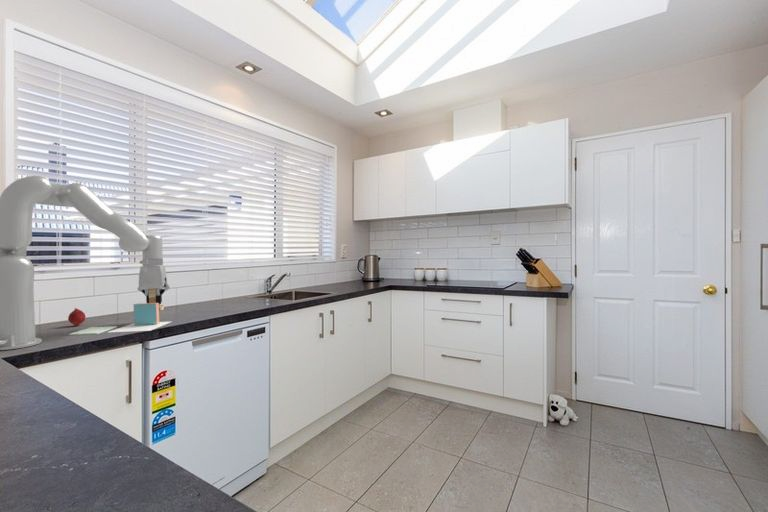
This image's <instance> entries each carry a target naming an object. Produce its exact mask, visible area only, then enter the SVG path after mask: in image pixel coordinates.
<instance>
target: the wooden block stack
mask: <svg viewBox="0 0 768 512" xmlns="http://www.w3.org/2000/svg"><path fill="white" fill-rule="evenodd" d="M148 292H149V303H156V296H157V291H156V289H148ZM163 310H164V304H159V312H160V311H163Z"/></svg>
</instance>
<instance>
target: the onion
mask: <svg viewBox="0 0 768 512" xmlns="http://www.w3.org/2000/svg"><path fill="white" fill-rule="evenodd" d="M67 319H68V322H69V323H71V324H72V325H73V326H75V327H78V326H80V325H81V324H83V323H84V322H85V320H86V314H85V312H84V311H82V310H81V309H80V308H77V307H75V308H74V310H73V311H71V312H70V314H69V315H68V317H67Z"/></svg>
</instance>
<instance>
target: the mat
mask: <svg viewBox="0 0 768 512" xmlns="http://www.w3.org/2000/svg"><path fill="white" fill-rule="evenodd" d="M170 323H171V321H159V324H157V325H136V326H134V322H133V323H130V324H127V325H124V326H121V327H117V328H114V329H111V330H108V333H124V332H125V333H127V332H128V333H129V332H130V333H131V332H149V331H150V332H151V331H153V330H155V329H158V328H160V327H163V326H165V325H167V324H170Z"/></svg>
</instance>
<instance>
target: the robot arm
mask: <svg viewBox="0 0 768 512" xmlns="http://www.w3.org/2000/svg"><path fill="white" fill-rule="evenodd" d="M36 204H38V205H46V206H47V205H48V206H53V207H55V206H56V207H65V208H67V207H69V208H73V209H75V210H77V211H78V212H79V213H80V214H81V215H82V216H83V217H85V218H86V219H87V220H88V221H90V223H91V224H93V225H94V226H96V227H99V228H101V229H103V230H106V231H108V232H110V233H111V234H114V236H116V237H117V238H119V240H118V246H119V248H120V249H121V250H123V251H124V252H127V253H135V252H136V253H138V252H139V253H140V252H142V253H141V254H142V255H141V256H142V259H141V260H140V261H139V264H140V265H142V266H140V268H139V275H138V287H137V291H139V292H141V293H142V294H143V295H144V296H145V298H146V299H145V301H146V302H145V303H149V292H148V289H156V291H157V296H156V303H159V304H160V305H162V302H163V300H162V299H163V297H162V296H163V294H164V293H165V292H167V291H168V290H170V289H171V287H170V285H169V284H168V276H167V275H168V274H167V271H166V267H165V265H164V259H163V257H164V256H163V252H164V251H163V238H162V236H161V235H158V234H144V232H142V230H140V229H139V228H138V227H137V226H136V225H135V224H133V223H132V222H131V221H130V220H128V219H126V218H125V217H123V216H122V215H121V214H119V213H117V212H116V211H114V210H113V209H112V208H111V207H110V206H108V204H106V203H105V202H104V201H103V200H102V199H101V198H99V196H97V195H96V194H95V193H94V192H93V191H92V190H91V189H90V188H89V187H87V186H86V185H85V184H82V183H79V182H72V183H69V184H67V185H66V184H55V183H52V182H51V181H50V180H49V179H48V178H47V177H45V176H42V175H29V176H25V177H22V178H18V179H16V180H15V181H13V182H12V183H10V184H9V185H7V186H6V188H5V189H4V190H3V191H2V192H1V194H0V351H8V350H10V351H11V350H17V349H22V348H28V347H32V346H36V345H39V344H42V341H43V339H42V338H40V337H36V321H35V320H36V319H35V316H36V315H35V299H34V298H35V297H34V295H35V294H34V293H35V292H34V291H35V290H34V285H35V284H34V283H35V282H34V281H35V268H34V267H35V266H34V264H33V262H32V261H31V260H30V259H29V258H28V257H27V252H28V251H27V248H28V247H29V246H30V245H31V243H32V240H33V210H34V207H35V205H36Z"/></svg>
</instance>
